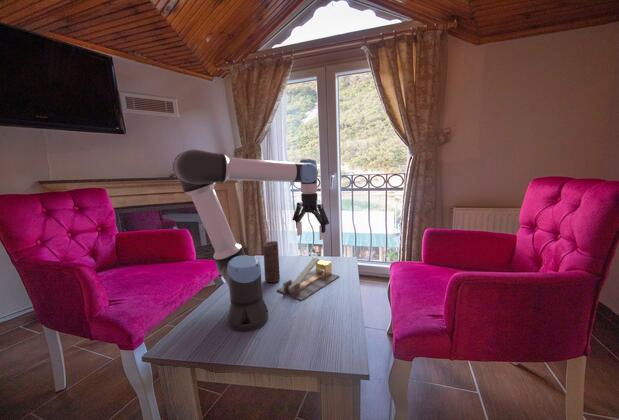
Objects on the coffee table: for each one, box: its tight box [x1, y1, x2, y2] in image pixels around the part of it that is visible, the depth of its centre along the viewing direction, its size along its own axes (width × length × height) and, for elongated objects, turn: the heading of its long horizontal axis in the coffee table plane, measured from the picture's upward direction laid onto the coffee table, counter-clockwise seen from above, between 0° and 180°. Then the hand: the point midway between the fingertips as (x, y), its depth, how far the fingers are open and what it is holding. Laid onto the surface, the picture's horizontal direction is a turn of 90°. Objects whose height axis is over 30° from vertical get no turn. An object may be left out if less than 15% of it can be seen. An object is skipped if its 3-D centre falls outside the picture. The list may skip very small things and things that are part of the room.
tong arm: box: [287, 257, 320, 291], centre depth 123 cm, size 21×3×2 cm, turn 140°
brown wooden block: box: [262, 240, 281, 283], centre depth 130 cm, size 8×7×20 cm
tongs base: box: [276, 268, 340, 302], centre depth 127 cm, size 29×15×5 cm, turn 140°
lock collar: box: [315, 259, 333, 277], centre depth 135 cm, size 5×6×6 cm
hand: (310, 237), depth 126 cm, fingers open, 13 cm apart
